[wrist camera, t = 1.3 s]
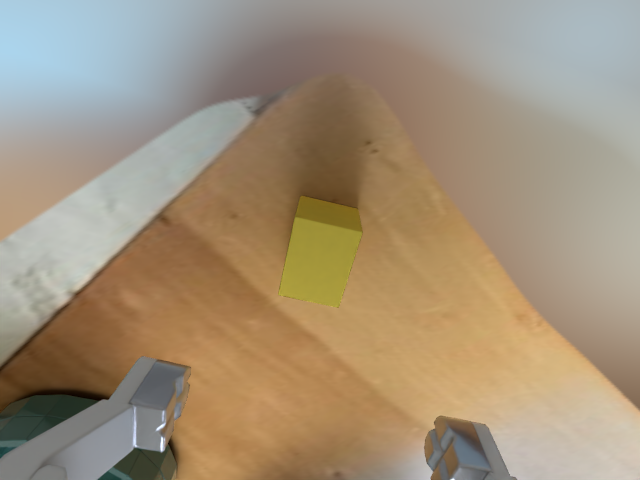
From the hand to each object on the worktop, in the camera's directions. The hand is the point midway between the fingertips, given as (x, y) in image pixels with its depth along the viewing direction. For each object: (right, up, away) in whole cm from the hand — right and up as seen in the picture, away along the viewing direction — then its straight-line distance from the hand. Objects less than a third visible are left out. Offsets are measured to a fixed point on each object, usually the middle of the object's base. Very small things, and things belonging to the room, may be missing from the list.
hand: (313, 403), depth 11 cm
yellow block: (0, +5, +10) cm, 12 cm away
